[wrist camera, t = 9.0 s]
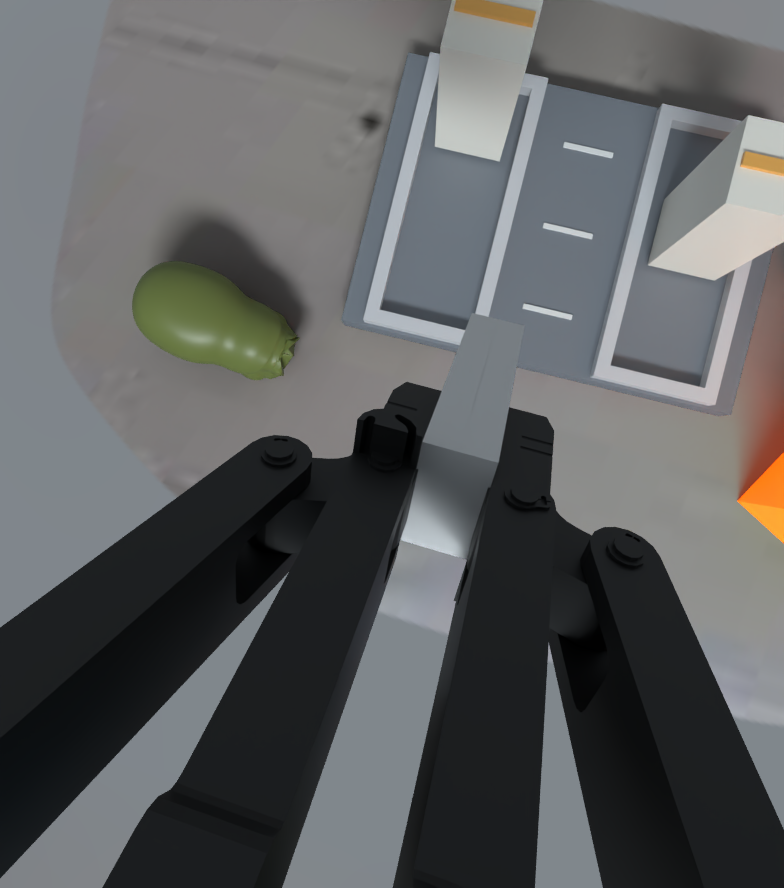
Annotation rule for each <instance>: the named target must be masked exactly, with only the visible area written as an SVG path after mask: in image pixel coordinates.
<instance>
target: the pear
mask: <svg viewBox="0 0 784 888" xmlns="http://www.w3.org/2000/svg"><path fill="white" fill-rule="evenodd" d="M132 310H133V316H134V319H135V322H136V324H137V326H138V328H139V329H140V331H141V332H142V333H143V334H144V336H145V337H146V338H147V339H149V340H150V341H151V342H152V343H154V344H155V345H156V346H158V347H159V348H161V349H163V350H164V351H166V352H168V353H170V354H172V355H174V356H176V357H178V358H181V359H184V360H187V361H190V362H194V363H202V364H216V365H219V366H222V367H225V368H227V369H229V370H232V371H234V372H237V373H241V374H242V375H244V376H245V377H247V378H249V379H252V380H261V379H263V378H269V379H272V378H275V377H278V376H281V375H282V376H284V372H283V369H284V368H285V367H286V365H287V364H288V362H289V361H290V358H292V356H294V347H295V346H294V343H296V342H297V341H298V340H299V339H300V338H299V337H297V335H296V334H295V333H294V332H293V331H292V329H291V328H290V327H288V325H287V322H286V320H285V318H284V317H283V316H282V315H281V314H280V313H278V312H276V311H273V310H272V309H271V308H269V307H268V306H266V305H264V304H262V303H260V302H257V301H255V300H253V299H251V298H249V297H247V296H246V295H245V294H243V293H242V291H241V290H240V289H239V288H238V287H237V286H236V285H235V284H234V283H232V282H231V281H230V280H229V279H227V278H226V277H224V276H223V275H221V274H219V273H217V272H215V271H213V270H210V269H208V268H205V267H202V266H199V265H196V264H192V263H187V262H180V261H170V262H164V263H160V264H158V265H156V266H154V267H152V268H151V269H150V270H148V271H147V272H146V273H145V274H144V275H143V276H142V278H141V279H140V281H139V282H138V284H137V286H136V288H135V291H134V295H133V301H132ZM288 354H289V355H288ZM291 355H292V356H291Z"/></svg>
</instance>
